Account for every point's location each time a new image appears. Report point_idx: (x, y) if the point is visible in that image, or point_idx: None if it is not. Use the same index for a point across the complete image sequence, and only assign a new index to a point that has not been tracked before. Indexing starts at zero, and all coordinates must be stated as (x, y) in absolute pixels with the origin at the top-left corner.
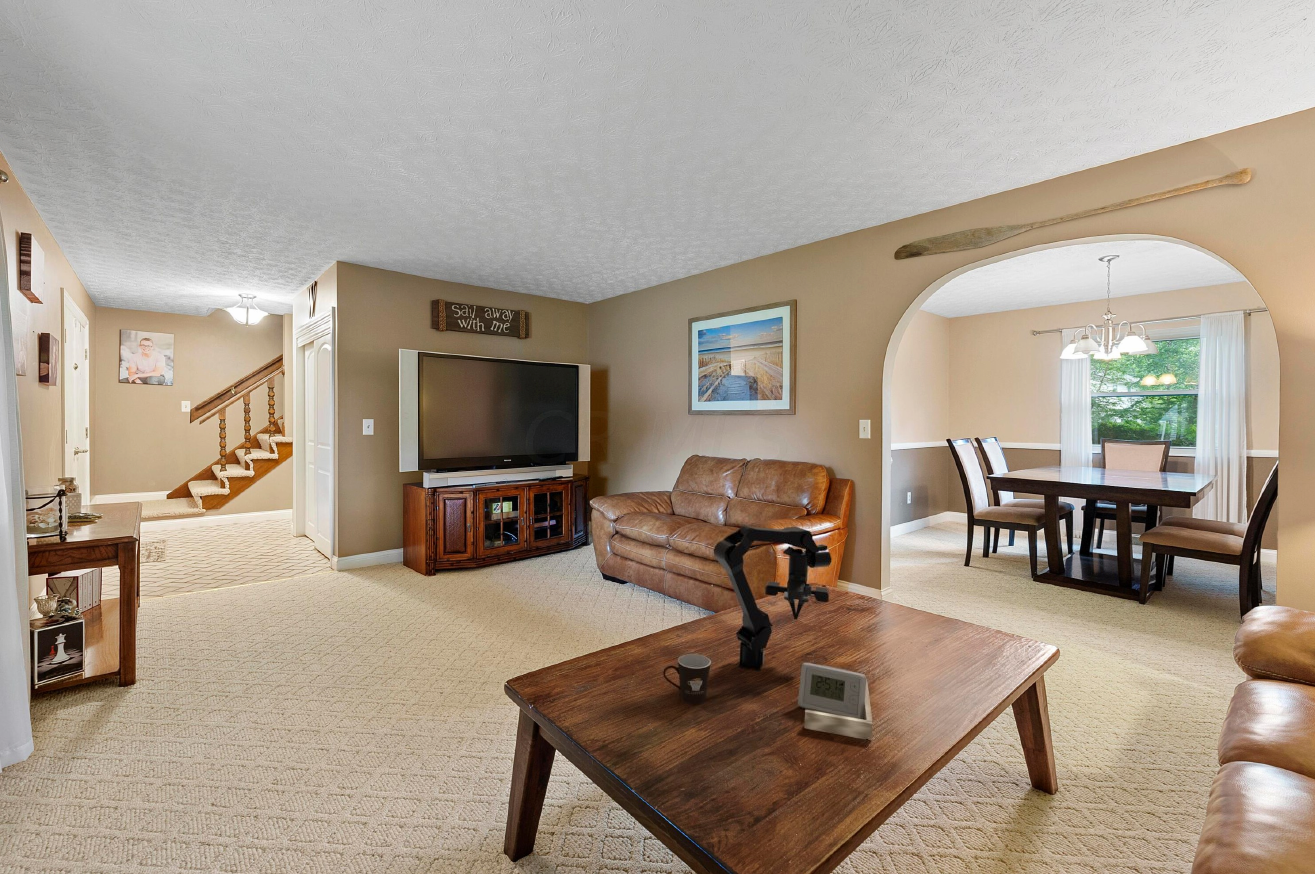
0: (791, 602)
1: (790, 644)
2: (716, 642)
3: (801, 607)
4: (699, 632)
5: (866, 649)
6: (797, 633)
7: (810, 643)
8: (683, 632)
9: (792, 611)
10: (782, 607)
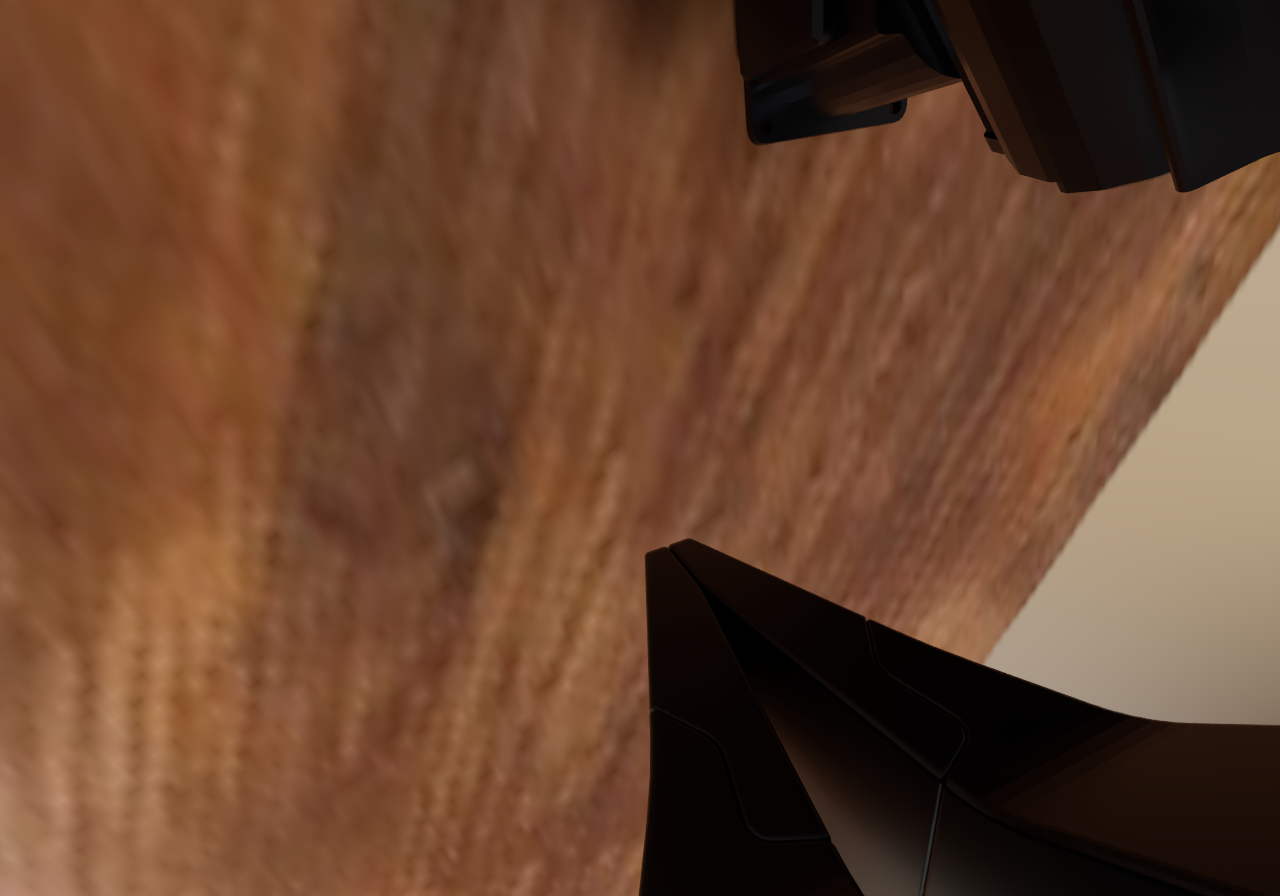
0: (1113, 766)
1: (637, 568)
2: (1033, 308)
3: (654, 803)
4: (1103, 387)
5: (132, 846)
6: (641, 723)
7: (528, 664)
8: (1173, 335)
9: (805, 595)
10: None
